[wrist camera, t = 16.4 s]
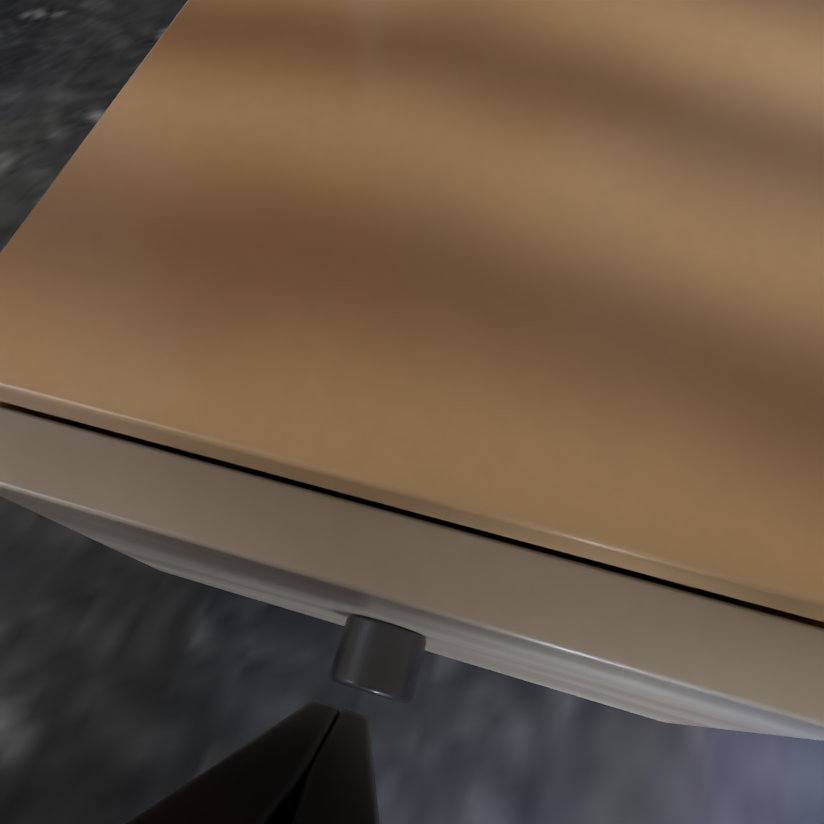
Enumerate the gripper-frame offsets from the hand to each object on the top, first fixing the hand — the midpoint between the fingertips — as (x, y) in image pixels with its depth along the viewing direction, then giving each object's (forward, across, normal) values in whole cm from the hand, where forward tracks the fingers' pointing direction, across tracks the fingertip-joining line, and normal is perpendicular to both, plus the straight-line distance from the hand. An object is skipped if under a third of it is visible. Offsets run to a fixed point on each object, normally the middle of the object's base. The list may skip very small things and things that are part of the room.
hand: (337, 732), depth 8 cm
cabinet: (+13, 0, +3) cm, 13 cm away
